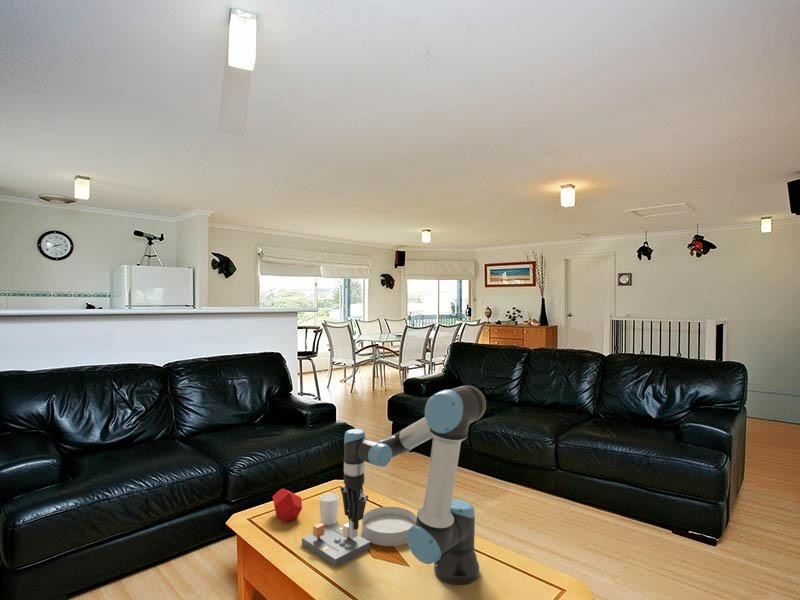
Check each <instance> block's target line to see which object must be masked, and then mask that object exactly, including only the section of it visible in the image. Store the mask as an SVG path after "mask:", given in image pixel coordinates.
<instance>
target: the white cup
mask: <svg viewBox="0 0 800 600" xmlns="http://www.w3.org/2000/svg"><path fill="white" fill-rule="evenodd" d="M339 502H340V496H339V495H338V494H337V493H332V492H328V493H322V495H320V496H319V515H320V523H322V524H324V526H330V525H332V524H335V523H337V522H338V515H339Z"/></svg>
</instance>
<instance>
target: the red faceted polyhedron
mask: <svg viewBox="0 0 800 600" xmlns="http://www.w3.org/2000/svg"><path fill="white" fill-rule="evenodd" d="M272 501H273V505H274V511H275V515H276V519H278V520H280V521H281V522H284V523H287V522H290V521H293V520H296V519H298V518H299V515H300V513H301V511H302V510H303V504H302V503H303V501H302V497H301V496H300V495H297V494H296V493H293V492H292V491H289V490H287V489H285V488H281V489H279V490H278V491H277V492H276V493H274V495H272Z"/></svg>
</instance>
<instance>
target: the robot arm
mask: <svg viewBox="0 0 800 600" xmlns="http://www.w3.org/2000/svg"><path fill="white" fill-rule="evenodd" d="M486 401H487V400H486V397H485V395H484V394H483V392H482V391H481V390H479V388H477V387H475V386H473V385H462V386H457V387H454V388H450V389H443V390H440V391H438V392H436V393H434V394H433V395H432V396H430V397H429V399H428V400H427V402H426V404H425V406H424V417H422V418H420V419H418V420H417V421H415V422H413V423H411V424H410V425H408V426H407V427H405V428H402V429H401V430H399V431H397V432H396V433H394V434H391V435H389V436H386V437H383V438H379V439H377V440H372V439H370V438H369V439H368V438H366V432H365V431H364V430H363V429H360V428H351V429H348V430H346V431H345V433H344V441H343V444H344V447H343V450H344V451H343V452H344V453H343V454H344V455H343V456H344V457H343V473H344V474H343V484H344V486H342V487H340V492H341V495H342V504H343V510H344V515H345V516H347V518H348V523H349V537H350V538H351V539H353V538H355V537H357V536H358V535H359V532H358V529H359V522H360V521H362V519H363V516H364V514H365V508H366V504H367V500H368V499H369V495H367V494H366V495H365V493H364V488H363V487H364V486H363V485H364V484H365V462H366V463H368V464H371V465H373V466H376V467H383V468H384V467H386V466H387V465H388V464H390V462H391V460H392V458H395V457H397V456H400V455H404V454H406V453H409V452H410V451H412V449H414V448H416V447H418V446H419V445H421V444H423V443H425V442H427V441H429V440H431V439H432V442H431V443H432V445H431V451H430V457H429V463H428V464H429V465H428V472H427V478H426V485H425V491H424V498H423V505H422V506H420V508H419V509H418V510H417V514H416V517H417V519H416V524H415V525H414V526H412V527H411V528H410V529H409V530H408V533H407V542H408V543H407V545H408V548H409V550H410V551H411V554H412V555H413V556H414V557H415V558H416V559H417V560H418V561H419V562H421V563H422V564H425V565H430V564H433V563H434V565H433V571H434V574H435V575H436V577H437V578H439V579H440V580H442V581H443V582H445V583H448V584H452V585H467V584H471V583H473V582H475V581H476V580H477V579H478V578H479V577H480V564H479V561H478V558H477V554H476V551H475V530H476V529H475V521H476V520H475V519H476V515H475V508H474V506H473V505H472V503H470V502H468V501H465V500H462V499H458V498H453V497H454V491H455V483H456V478H457V470H458V464H459V458H460V453H461V444H462V442H463V441H465V440H466V439H467V438H468V433H469V426H470V424H472V423H474V422H476V421H479V420H480V419H481V418H482V417H483V415H484V414H485V411H486V409H487V402H486Z"/></svg>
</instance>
